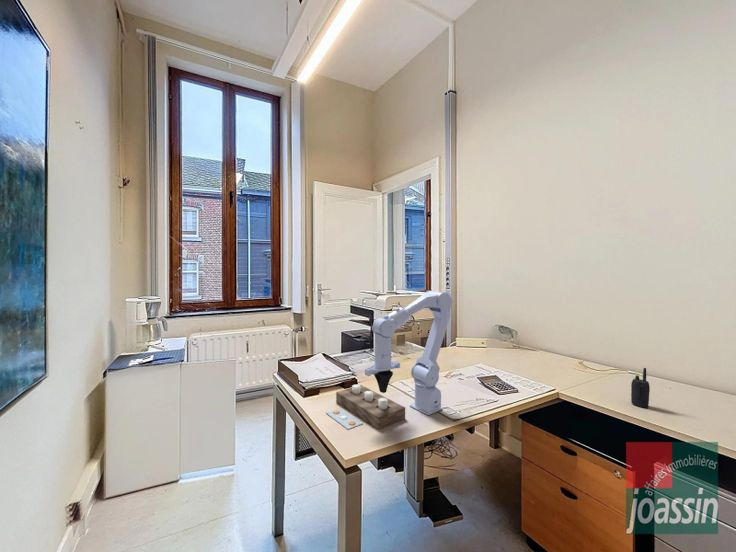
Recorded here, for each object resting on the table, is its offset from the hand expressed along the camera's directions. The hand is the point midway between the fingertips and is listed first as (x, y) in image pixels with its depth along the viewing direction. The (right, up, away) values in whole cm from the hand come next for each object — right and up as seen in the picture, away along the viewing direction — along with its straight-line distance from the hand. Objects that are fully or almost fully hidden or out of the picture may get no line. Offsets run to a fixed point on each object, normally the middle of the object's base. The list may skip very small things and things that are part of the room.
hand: (382, 391), depth 112 cm
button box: (-5, -9, +7) cm, 12 cm away
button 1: (-10, -6, +13) cm, 17 cm away
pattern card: (-14, -9, 0) cm, 17 cm away
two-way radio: (+98, -10, +10) cm, 99 cm away
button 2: (0, -7, 0) cm, 7 cm away
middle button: (-5, -7, +7) cm, 11 cm away
